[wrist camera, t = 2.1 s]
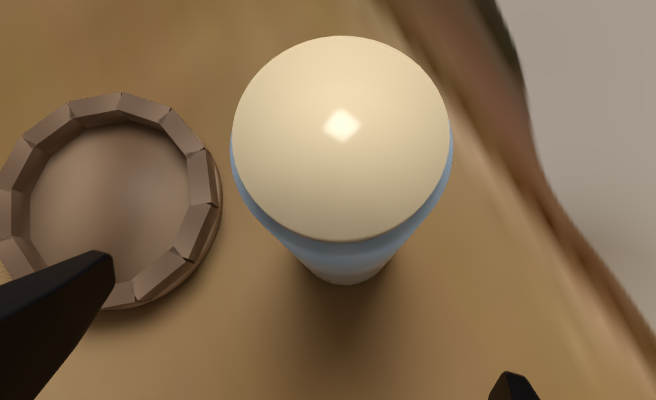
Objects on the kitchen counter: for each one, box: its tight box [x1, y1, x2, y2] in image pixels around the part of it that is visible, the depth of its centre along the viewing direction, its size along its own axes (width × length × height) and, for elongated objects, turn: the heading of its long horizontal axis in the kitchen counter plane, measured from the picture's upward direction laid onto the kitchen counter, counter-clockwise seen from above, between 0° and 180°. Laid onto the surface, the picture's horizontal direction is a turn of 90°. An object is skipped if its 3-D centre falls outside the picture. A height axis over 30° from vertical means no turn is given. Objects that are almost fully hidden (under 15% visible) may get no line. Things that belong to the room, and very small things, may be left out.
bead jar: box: [230, 36, 453, 285], centre depth 15 cm, size 5×5×13 cm
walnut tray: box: [0, 92, 223, 311], centre depth 20 cm, size 10×10×2 cm
